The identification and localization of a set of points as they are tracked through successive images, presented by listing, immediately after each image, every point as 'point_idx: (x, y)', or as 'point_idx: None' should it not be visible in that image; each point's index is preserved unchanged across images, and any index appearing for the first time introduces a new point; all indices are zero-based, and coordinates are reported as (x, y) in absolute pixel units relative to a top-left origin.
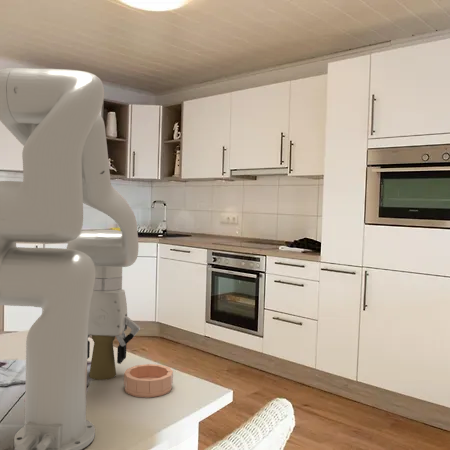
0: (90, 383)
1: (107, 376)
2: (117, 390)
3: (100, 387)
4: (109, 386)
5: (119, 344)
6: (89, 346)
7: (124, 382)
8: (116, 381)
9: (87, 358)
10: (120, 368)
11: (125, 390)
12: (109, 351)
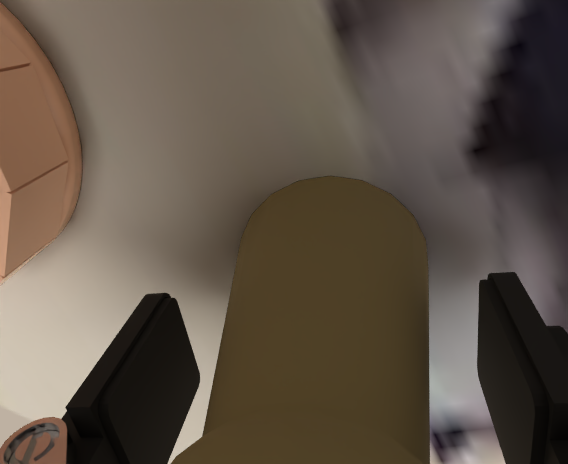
0: (342, 92)
1: (260, 215)
2: (79, 20)
3: (227, 36)
4: (176, 78)
5: (97, 448)
6: (506, 459)
7: (4, 52)
8: (183, 182)
9: (479, 338)
10: None
11: (9, 17)
12: (219, 365)
